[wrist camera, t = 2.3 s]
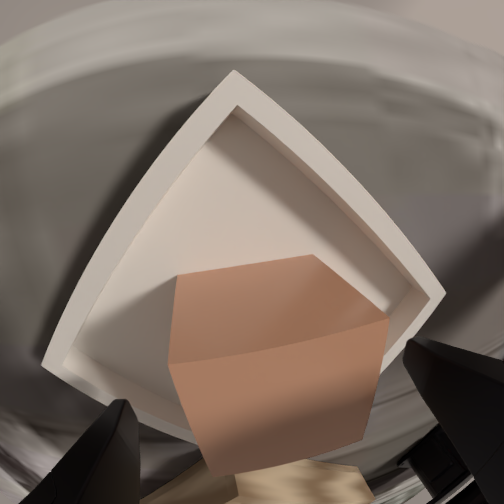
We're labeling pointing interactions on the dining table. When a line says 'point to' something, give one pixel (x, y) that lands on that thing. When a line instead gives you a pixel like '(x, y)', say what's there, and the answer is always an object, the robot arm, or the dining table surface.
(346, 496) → the wooden bin
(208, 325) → the clay block
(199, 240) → the tray
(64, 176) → the dining table surface
